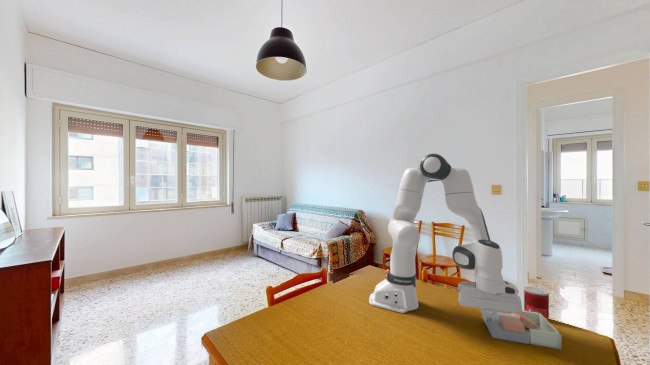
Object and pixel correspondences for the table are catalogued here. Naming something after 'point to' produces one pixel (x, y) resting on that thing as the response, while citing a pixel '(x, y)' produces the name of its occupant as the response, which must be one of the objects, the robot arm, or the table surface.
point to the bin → (542, 332)
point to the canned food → (536, 301)
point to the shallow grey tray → (500, 333)
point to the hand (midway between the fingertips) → (488, 320)
